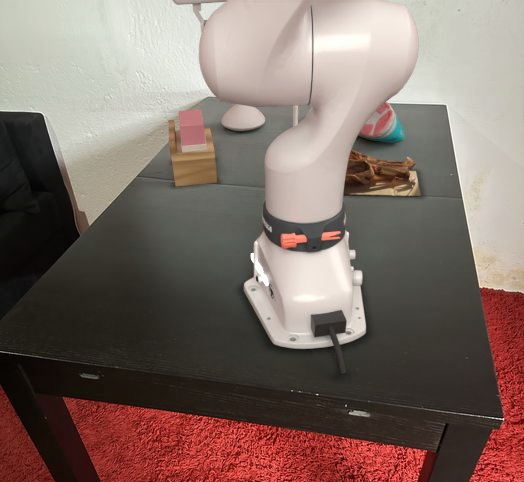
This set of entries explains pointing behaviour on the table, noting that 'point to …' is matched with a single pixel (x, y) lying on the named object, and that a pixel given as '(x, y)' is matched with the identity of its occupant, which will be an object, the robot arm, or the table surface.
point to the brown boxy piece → (192, 160)
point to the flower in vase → (243, 118)
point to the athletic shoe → (383, 126)
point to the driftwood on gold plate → (380, 176)
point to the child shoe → (192, 131)
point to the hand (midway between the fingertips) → (231, 30)
